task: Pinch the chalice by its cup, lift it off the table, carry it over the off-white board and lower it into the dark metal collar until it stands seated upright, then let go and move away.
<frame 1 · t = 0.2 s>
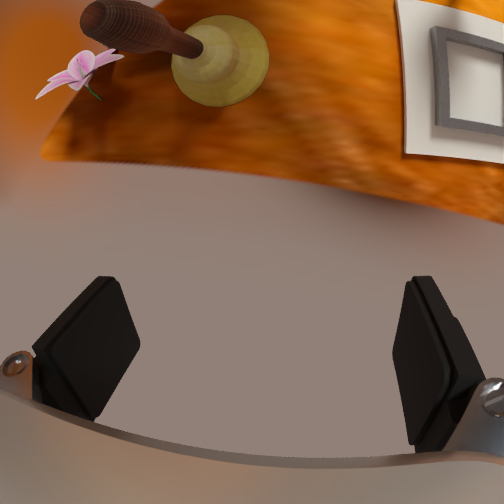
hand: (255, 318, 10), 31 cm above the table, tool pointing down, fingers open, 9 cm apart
lily: (101, 71, 36), on the table
board: (472, 83, 28), on the table
handbell: (218, 59, 33), on the table
collar: (479, 83, 27), on the board, point 1 cm above the table
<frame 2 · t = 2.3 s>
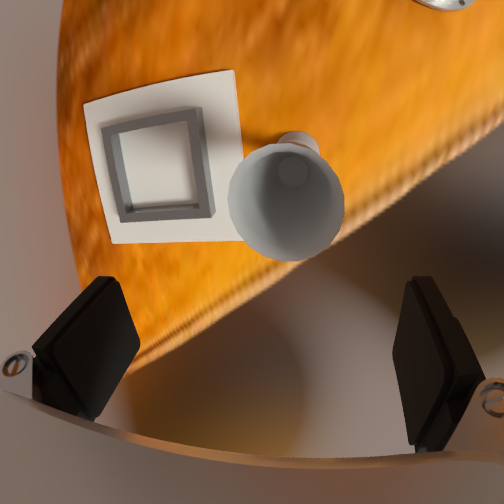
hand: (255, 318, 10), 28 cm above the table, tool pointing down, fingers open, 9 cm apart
chalice: (297, 153, 34), on the table
board: (163, 164, 37), on the table
collar: (156, 168, 35), on the board, point 1 cm above the table
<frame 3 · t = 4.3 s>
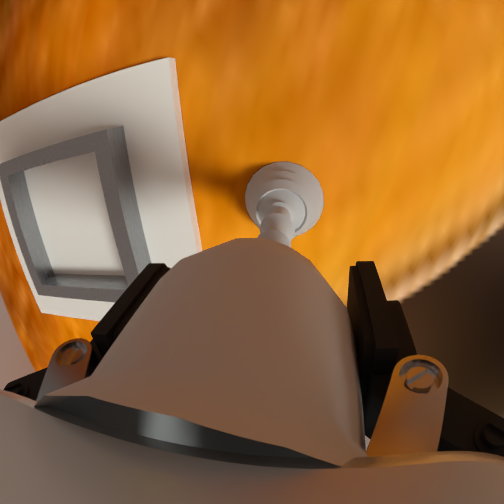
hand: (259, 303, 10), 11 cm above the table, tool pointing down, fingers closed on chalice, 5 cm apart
chalice: (284, 199, 20), on the table, touching gripper
board: (82, 214, 23), on the table
collar: (68, 224, 21), on the board, point 1 cm above the table
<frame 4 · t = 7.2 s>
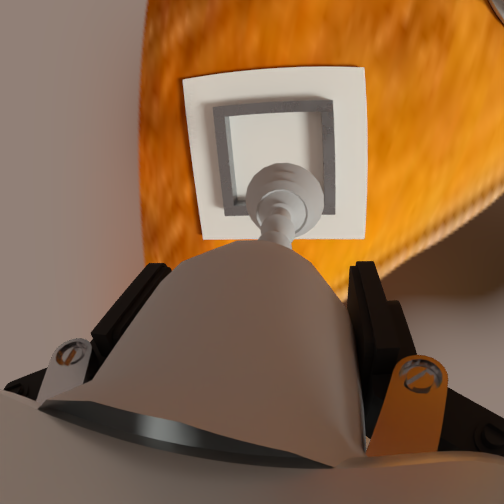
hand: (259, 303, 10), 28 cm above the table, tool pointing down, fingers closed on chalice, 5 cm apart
chalice: (284, 200, 20), point 17 cm above the table, touching gripper
board: (278, 155, 35), on the table
collar: (276, 158, 33), on the board, point 1 cm above the table
when the fingers open (13 cm above the table, at t = 10.5 s): chalice drops 1 cm, resting on board.
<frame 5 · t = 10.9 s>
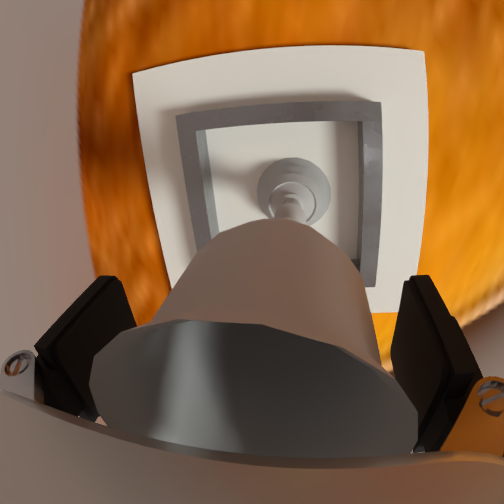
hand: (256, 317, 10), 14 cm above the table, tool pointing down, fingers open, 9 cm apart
chalice: (293, 193, 22), point 1 cm above the table, touching board
board: (286, 190, 22), on the table
collar: (284, 198, 21), on the board, point 1 cm above the table
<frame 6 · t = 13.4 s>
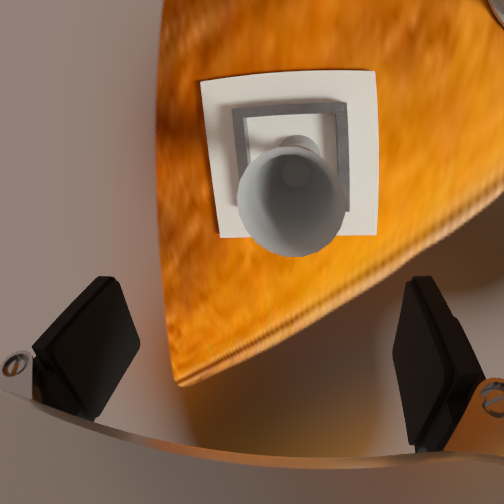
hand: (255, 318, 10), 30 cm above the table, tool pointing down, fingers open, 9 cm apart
chalice: (298, 156, 36), point 1 cm above the table, touching board
board: (293, 155, 36), on the table
collar: (293, 157, 35), on the board, point 1 cm above the table
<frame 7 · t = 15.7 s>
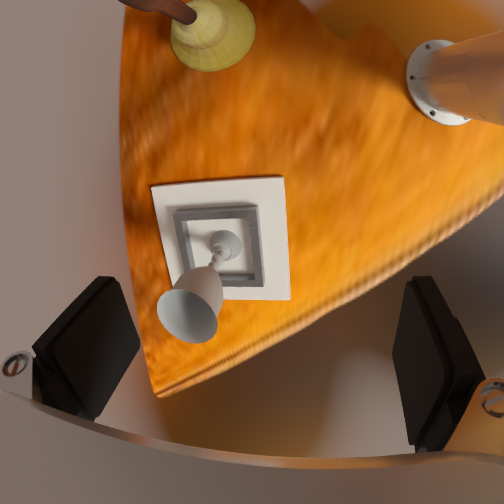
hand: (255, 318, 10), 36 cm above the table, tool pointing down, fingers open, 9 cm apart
chalice: (225, 244, 49), point 1 cm above the table, touching board
board: (223, 242, 50), on the table
handbell: (211, 31, 36), on the table
collar: (220, 248, 48), on the board, point 1 cm above the table
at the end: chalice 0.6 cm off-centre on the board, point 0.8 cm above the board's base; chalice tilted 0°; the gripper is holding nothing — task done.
